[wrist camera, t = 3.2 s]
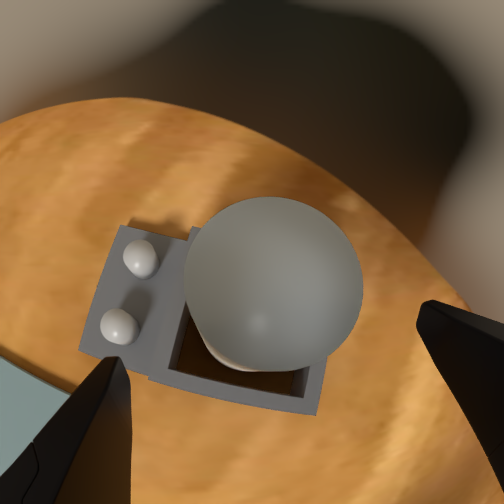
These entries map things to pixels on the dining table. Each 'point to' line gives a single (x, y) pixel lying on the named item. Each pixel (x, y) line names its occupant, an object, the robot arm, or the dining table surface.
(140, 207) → the dining table surface
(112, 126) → the dining table surface
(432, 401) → the dining table surface
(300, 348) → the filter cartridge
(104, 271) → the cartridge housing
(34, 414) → the rubber mat
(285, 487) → the dining table surface
